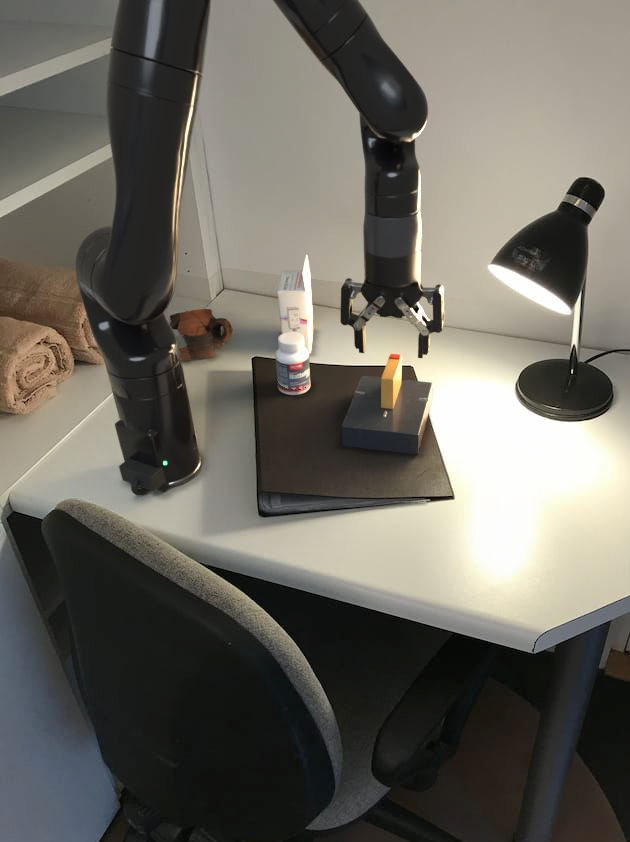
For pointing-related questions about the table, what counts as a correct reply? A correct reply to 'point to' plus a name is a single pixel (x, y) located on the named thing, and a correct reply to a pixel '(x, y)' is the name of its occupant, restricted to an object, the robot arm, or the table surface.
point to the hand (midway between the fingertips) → (392, 353)
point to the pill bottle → (292, 363)
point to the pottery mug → (200, 333)
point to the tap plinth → (387, 417)
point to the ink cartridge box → (296, 303)
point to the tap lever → (391, 381)
